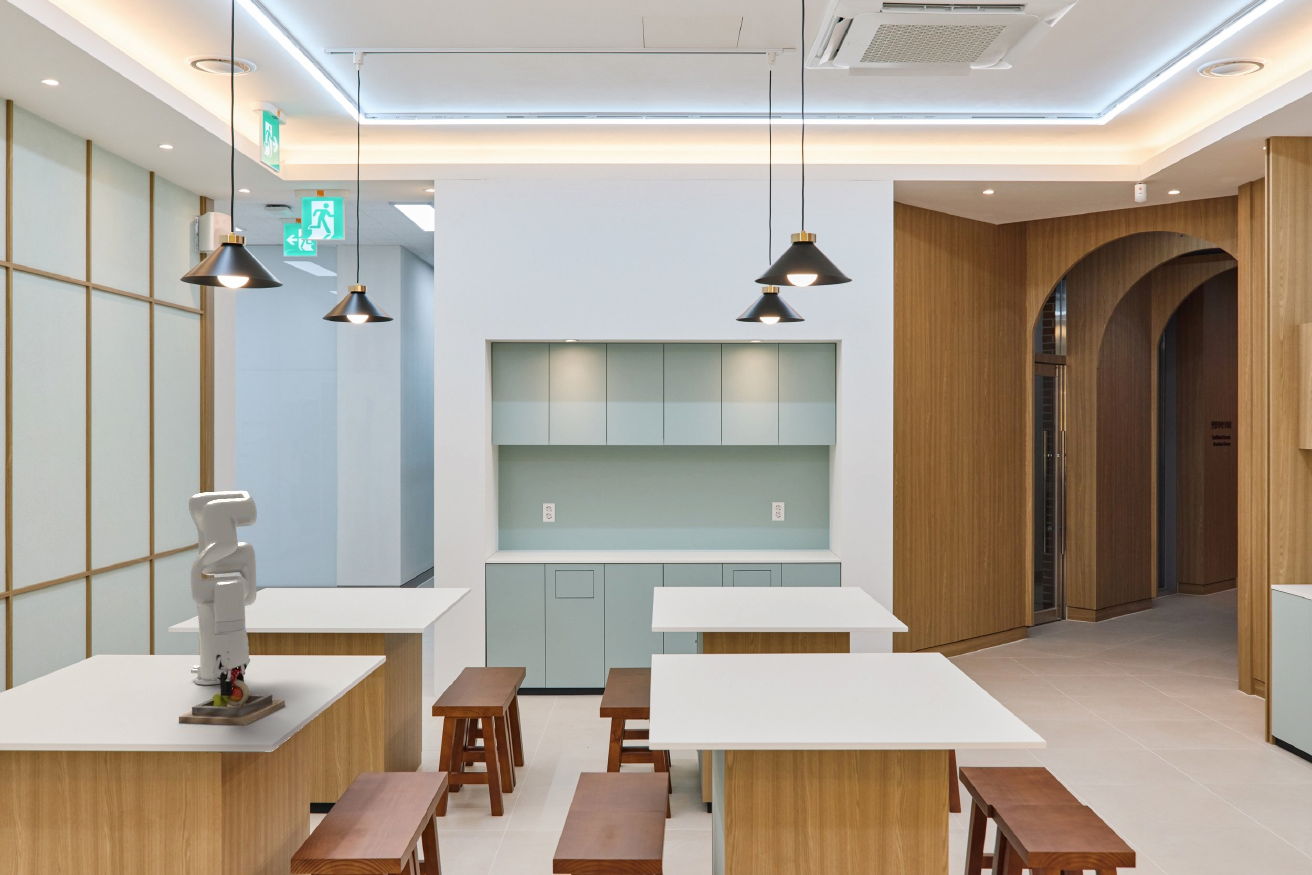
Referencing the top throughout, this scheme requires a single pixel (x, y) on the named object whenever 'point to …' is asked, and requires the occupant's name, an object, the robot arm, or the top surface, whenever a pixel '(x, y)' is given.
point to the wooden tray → (233, 711)
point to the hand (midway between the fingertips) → (232, 692)
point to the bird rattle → (233, 693)
